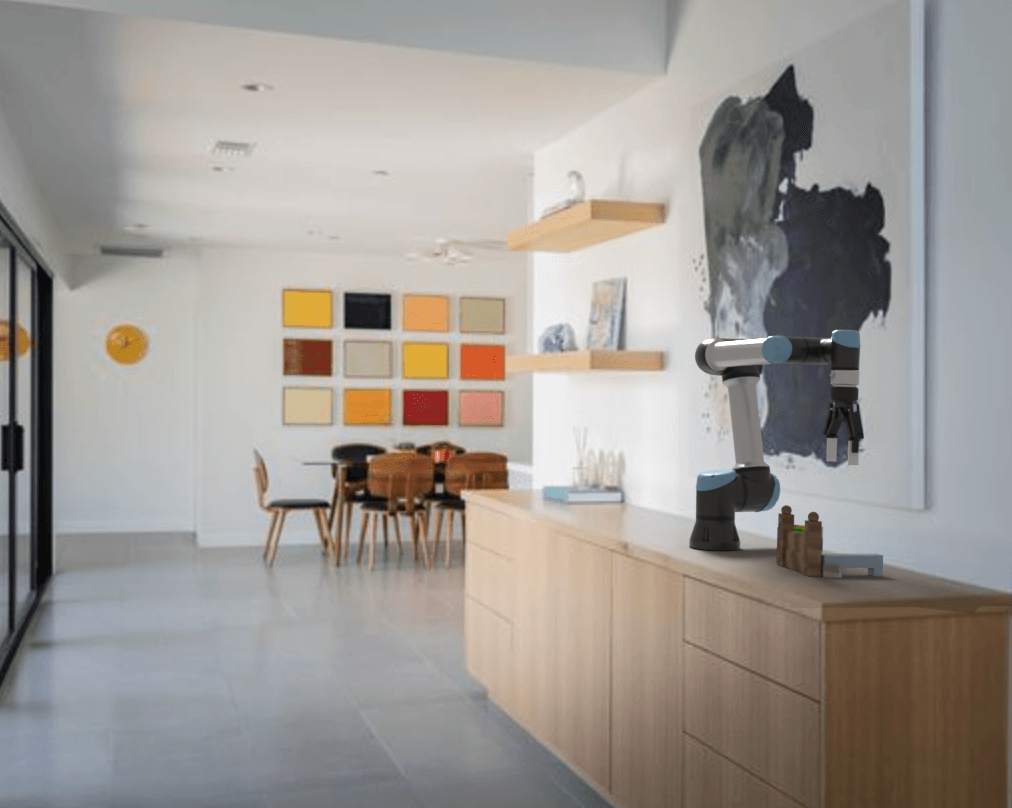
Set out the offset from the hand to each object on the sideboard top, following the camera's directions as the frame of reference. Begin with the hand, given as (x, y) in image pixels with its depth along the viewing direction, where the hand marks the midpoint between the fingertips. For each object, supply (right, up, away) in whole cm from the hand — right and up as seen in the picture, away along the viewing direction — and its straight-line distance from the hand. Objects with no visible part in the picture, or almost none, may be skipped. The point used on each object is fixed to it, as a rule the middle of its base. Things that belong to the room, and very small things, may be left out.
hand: (841, 463), depth 321 cm
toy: (-11, -28, +2) cm, 30 cm away
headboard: (-13, -28, -14) cm, 33 cm away
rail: (-4, -28, -20) cm, 34 cm away
